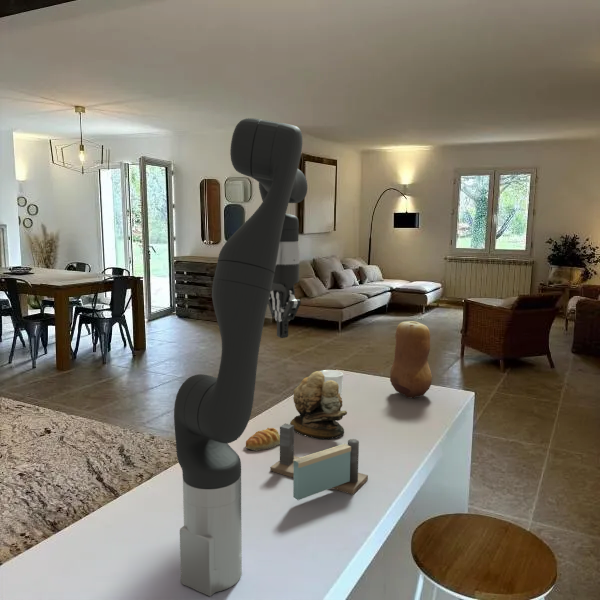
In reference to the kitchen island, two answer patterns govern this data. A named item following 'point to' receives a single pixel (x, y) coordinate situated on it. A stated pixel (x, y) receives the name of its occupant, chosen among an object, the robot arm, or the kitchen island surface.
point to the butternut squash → (411, 360)
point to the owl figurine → (318, 408)
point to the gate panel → (321, 471)
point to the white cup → (334, 378)
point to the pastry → (263, 439)
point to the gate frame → (287, 457)
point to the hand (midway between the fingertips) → (282, 336)
